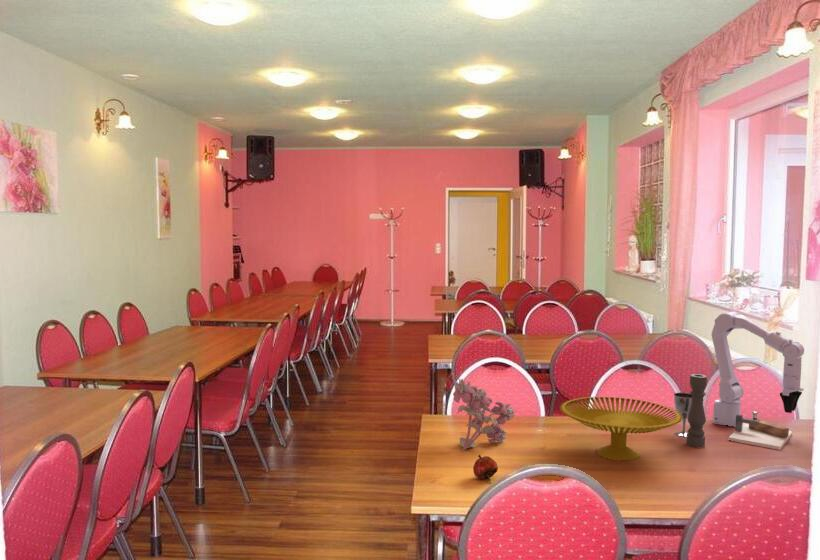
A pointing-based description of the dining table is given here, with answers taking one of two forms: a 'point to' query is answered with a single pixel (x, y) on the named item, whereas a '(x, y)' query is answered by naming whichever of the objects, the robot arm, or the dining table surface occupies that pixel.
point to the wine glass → (682, 409)
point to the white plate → (758, 438)
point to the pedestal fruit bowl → (620, 422)
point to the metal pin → (755, 415)
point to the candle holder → (697, 411)
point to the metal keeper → (741, 420)
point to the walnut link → (770, 428)
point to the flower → (481, 414)
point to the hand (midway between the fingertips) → (789, 411)
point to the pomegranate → (485, 467)
